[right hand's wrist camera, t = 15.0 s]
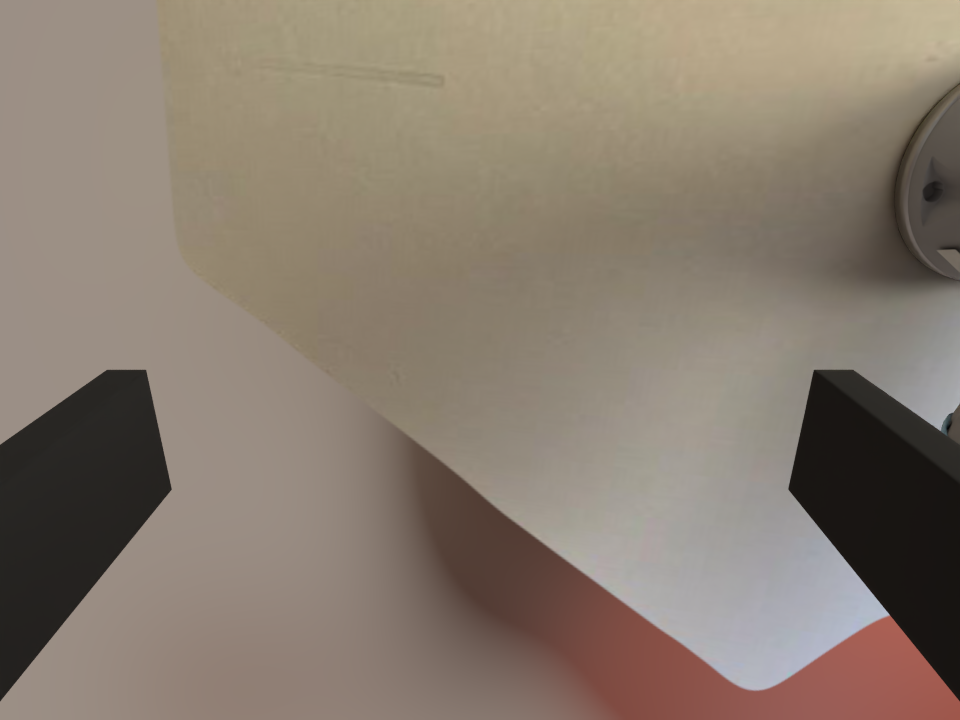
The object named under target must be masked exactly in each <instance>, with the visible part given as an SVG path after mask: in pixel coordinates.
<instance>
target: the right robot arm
mask: <svg viewBox="0 0 960 720" xmlns="http://www.w3.org/2000/svg"><path fill="white" fill-rule="evenodd" d="M895 214H896V220H897V224H898V228H899V231H900V233H901V236H902V238H903V240H904V242H905V244H906V246H907V247H908V249H909V250H910V251H911V253H912V254H913V255H914V256H915V257H916V258H917V259H918V260H919V261H920V262H921V263H923V264H924V265H925V266H927V267H928V268H930V269H931V270H933V271H935V272H937V273H939V274H942V275H944V276H947V277H950V278H953V279H956V280H959V281H960V84H959V85H958V86H957V87H955V88H954V89H953V90H952V91H951V92H949V93H948V94H947V95H946V96H945V97H944V98H943V99H942V100H941V101H940V102H939V103H938V104H937V105H936V106H935V107H934V108H933V109H932V111H931V112H930V113H929V114H928V115H927V117H926V118H925V119H924V121H923V122H922V123H921V125H920V126H919V128H918V129H917V131H916V132H915V134H914V136H913V138H912V139H911V141H910V143H909V145H908V147H907V149H906V152H905V154H904V156H903V159H902V162H901V165H900V168H899V172H898V176H897V181H896V187H895ZM788 490H789V491H790V492H791V493H792V495H793V496H794V497H795V498H796V499H797V501H798V502H799V503H800V504H801V506H802V507H803V508H804V509H805V511H806V512H807V513H808V514H809V516H810V517H811V518H812V519H813V520H814V522H815V523H816V524H817V525H818V527H819V528H820V529H821V530H822V532H823V533H824V534H825V535H826V537H827V538H828V539H829V540H830V541H831V543H832V544H833V545H834V546H835V548H836V549H837V550H838V551H839V553H840V554H841V555H842V556H843V558H844V559H845V560H846V561H847V562H848V564H849V565H850V566H851V567H852V569H853V570H854V571H855V572H856V574H857V575H858V576H859V577H860V579H861V580H862V581H863V582H864V583H865V585H866V586H867V587H868V588H869V590H870V591H871V592H872V593H873V595H874V596H875V597H876V598H877V600H878V601H879V602H880V603H881V604H882V606H883V607H884V608H885V609H886V611H887V612H888V613H889V614H890V616H891V617H892V618H893V619H894V621H895V622H896V623H897V624H898V625H899V627H900V628H901V629H902V630H903V632H904V633H905V634H906V635H907V637H908V638H909V639H910V640H911V642H912V643H913V644H914V645H915V646H916V648H917V649H918V650H919V651H920V653H921V654H922V655H923V656H924V658H925V659H926V660H927V661H928V663H929V664H930V665H931V666H932V667H933V669H934V670H935V671H936V672H937V674H938V675H939V676H940V677H941V679H942V680H943V681H944V682H945V684H946V685H947V686H948V687H949V688H950V690H951V691H952V692H953V693H954V695H955V696H956V697H957V698H958V700H959V701H960V404H959V406H958V407H957V409H956V410H955V412H954V413H951V414H949V415H948V416H947V418H946V419H945V420H944V422H943V425H942V427H941V431H939V430H938V429H937V428H935V427H934V426H932V425H931V424H929V423H928V422H927V421H925V420H924V419H922V418H921V417H919V416H918V415H917V414H915V413H914V412H912V411H911V410H909V409H908V408H907V407H905V406H904V405H902V404H901V403H899V402H898V401H897V400H895V399H894V398H892V397H891V396H889V395H888V394H887V393H885V392H884V391H882V390H881V389H879V388H878V387H877V386H875V385H874V384H872V383H871V382H869V381H868V380H867V379H865V378H864V377H862V376H861V375H859V374H858V373H857V372H855V371H854V370H814V372H813V377H812V381H811V386H810V391H809V395H808V400H807V405H806V409H805V414H804V419H803V423H802V428H801V433H800V437H799V442H798V447H797V451H796V456H795V461H794V465H793V470H792V475H791V479H790V484H789V489H788ZM170 491H171V484H170V479H169V475H168V470H167V465H166V461H165V456H164V451H163V447H162V442H161V438H160V433H159V428H158V423H157V419H156V414H155V410H154V405H153V400H152V395H151V391H150V386H149V381H148V377H147V372H146V370H106V371H105V372H103V373H102V374H101V375H99V376H98V377H96V378H95V379H93V380H92V381H91V382H89V383H88V384H86V385H85V386H83V387H82V388H81V389H79V390H78V391H76V392H75V393H73V394H72V395H71V396H69V397H68V398H66V399H65V400H63V401H62V402H61V403H59V404H58V405H56V406H55V407H53V408H52V409H51V410H49V411H48V412H46V413H45V414H43V415H42V416H41V417H39V418H38V419H36V420H35V421H33V422H32V423H31V424H29V425H28V426H26V427H25V428H23V429H22V430H21V431H19V432H18V433H16V434H15V435H14V436H12V437H11V438H9V439H8V440H6V441H5V442H4V443H2V444H1V445H0V701H1V700H2V698H3V697H4V696H5V695H6V693H7V692H8V691H9V690H10V688H11V687H12V686H13V685H14V684H15V682H16V681H17V680H18V679H19V677H20V676H21V675H22V674H23V672H24V671H25V670H26V669H27V667H28V666H29V665H30V664H31V662H32V661H33V660H34V659H35V658H36V656H37V655H38V654H39V653H40V651H41V650H42V649H43V648H44V646H45V645H46V644H47V643H48V642H49V640H50V639H51V638H52V637H53V635H54V634H55V633H56V632H57V630H58V629H59V628H60V627H61V625H62V624H63V623H64V622H65V621H66V619H67V618H68V617H69V616H70V614H71V613H72V612H73V611H74V609H75V608H76V607H77V606H78V604H79V603H80V602H81V601H82V599H83V598H84V597H85V596H86V595H87V593H88V592H89V591H90V590H91V588H92V587H93V586H94V585H95V583H96V582H97V581H98V580H99V579H100V577H101V576H102V575H103V574H104V572H105V571H106V570H107V569H108V567H109V566H110V565H111V564H112V562H113V561H114V560H115V559H116V558H117V556H118V555H119V554H120V553H121V551H122V550H123V549H124V548H125V546H126V545H127V544H128V543H129V541H130V540H131V539H132V538H133V537H134V535H135V534H136V533H137V532H138V530H139V529H140V528H141V527H142V525H143V524H144V523H145V522H146V520H147V519H148V518H149V517H150V515H151V514H152V513H153V512H154V511H155V509H156V508H157V507H158V506H159V504H160V503H161V502H162V501H163V499H164V498H165V497H166V496H167V495H168V493H169V492H170Z"/></svg>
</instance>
